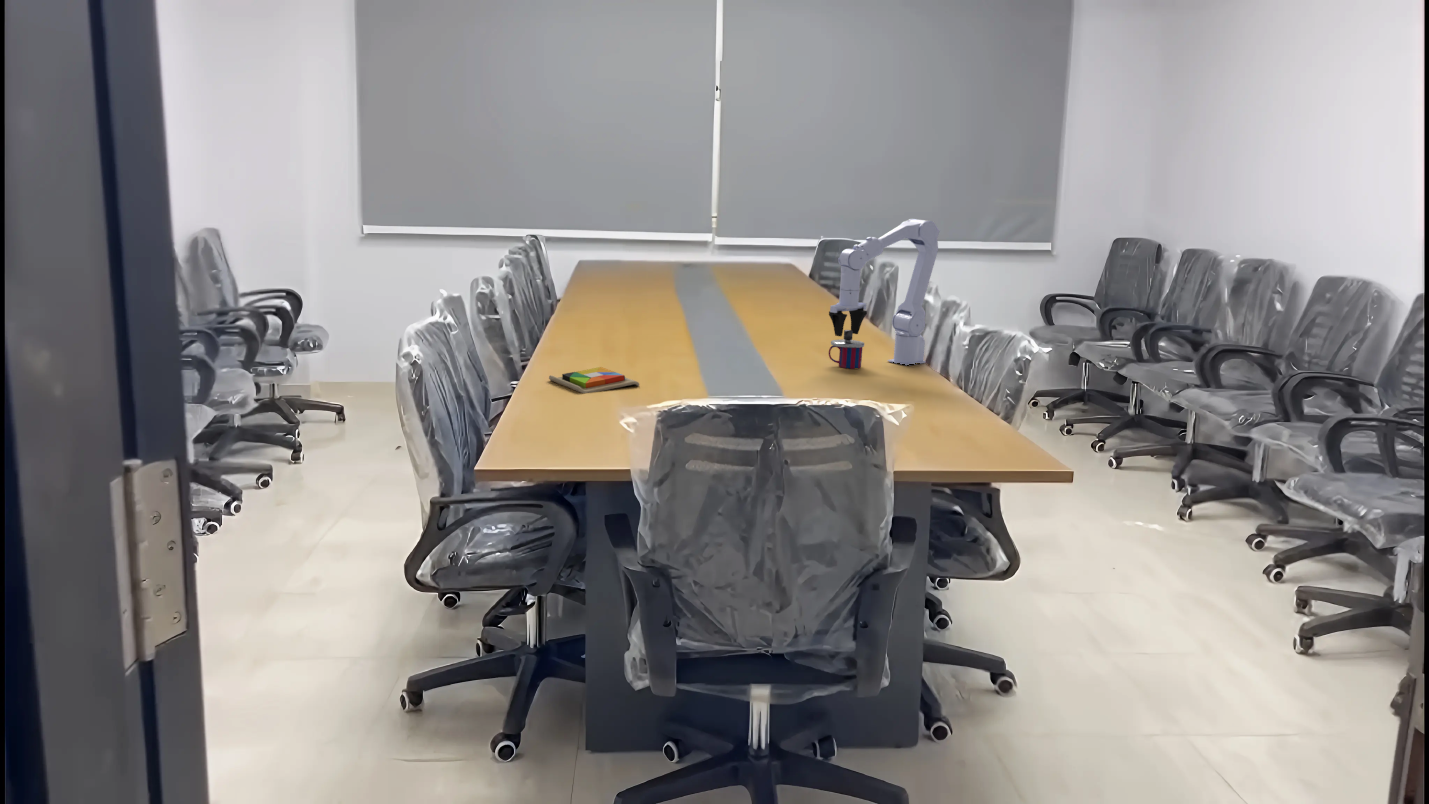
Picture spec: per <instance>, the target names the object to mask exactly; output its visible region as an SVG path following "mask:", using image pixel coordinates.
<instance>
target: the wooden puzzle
mask: <svg viewBox="0 0 1429 804" xmlns="http://www.w3.org/2000/svg"><path fill="white" fill-rule="evenodd" d="M548 379H549V381H550V382H554V383H555V384H558V385H561V386H564V387H566V388H569V389H571V390H573V391H576V392H577V393H581V394H589V393H590V394H591V393H596V392H597V393H598V392H604V391H608V390H613V389H619V388H624V387H627V386H635V387H640V382H639V381H636V380H633V379H631V378H628V377H626V376H625V375H624V374H622V373H619V372H616V371H615V370H614V371H613V370H611V369H608V368H605V367H602V366H599V367H593V368H588V369H587V368H586V369H583V370H578V371H572V372H566V373H562V374H561V376H559V377H557V376H555V375H549V376H548Z"/></svg>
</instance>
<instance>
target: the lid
mask: <svg viewBox="0 0 1429 804" xmlns="http://www.w3.org/2000/svg"><path fill="white" fill-rule="evenodd" d="M853 336H854V335H853V331H852V330H851V329H843V339H833V340H831V341H830V345H831V346H837V347H845V348H860V347H862V348H863V347H865V342H864V341H860V340H855V339H854V340H853ZM837 347H836V348H837Z"/></svg>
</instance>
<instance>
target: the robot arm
mask: <svg viewBox="0 0 1429 804" xmlns="http://www.w3.org/2000/svg"><path fill="white" fill-rule="evenodd" d="M939 235H940V229H939V228H938V226H937V224H936V222H935V221H933V220H929V219H928V220H924V219H918V218H909V219H907V220H904V221H902V222H901V223H900V224H899V225H897V226H896V227H894V228H893V229H891V230H890V231H888V232H886V233H885V234H883V235H882V236H880V237H876V236H868V237H866V238H865V240H864V241H862V242H860V243H859V244H854V245H853V247H852V248H845V249H843V250H842V251H841V252H840V255H839V257H838V258H837V260H838V261H837V262H838V265H839V266H840V283H839V285H840V286H839V299H838V300H839V301H838V302H837V303H836V304H833V305H830V308H829V311H828V315H829V317H830V320H831V322H832V325H833V326H832V327H833V331H834V335H835V336H836V337H842V336H843V334H844V326H845V322H846V318H847V316H848V314H849V317H850V330H852V331H853V334H854V335H859V331H860V328H861V326H862V324H863V320H864V319H865V318H866V316H867V314H868V310H867V302H859V300H860V286H861V285H860V284H861V275H862V274H861V273H862V272H861V270H863V268H864V267H865V265H866V263H868V262H869V261H871V260H873V259H875V258H877V257H878V256H880V255H882V254H883V252H884V249H885V248H887V247H890V246H892V245H894V244H895V243H898V242H901V241H903V240H904V239H907V240H909V241H910V242H911V243H912V244H913V245H914V246H915V249H916V250H917V251H918V254H917V257H916V261H915V264H914V267H913V271H912V274H911V278H910V281H909V285H908V288H907V293H906V296H905V300H904V301H903V302H902V303H900V305H898V307H897V310H896V312H895V313H894V314H893V315H892V318H891V325H892V328H893V329H894V334H895V335H894V336H895V337H894V338H895V339H894V348H893V349H894V350H893V351H894V352H893V358H892V359H887V362H888V361H889V362H890V363H893V362H894V363H893V364H897V363H900V364H899V365H902V364H905V365H904V366H907V365H909V364H914V365H916V364H915V363H920V364H925V363H926V360H924V357H925V346H926V341H925V339H924V337H923V335H922V332H924V330H925V327H926V319H925V318H926V315H927V314H926V311H925V309H924V307H923V305H924V301H925V297H926V294H927V290H928V287H929V283H930V280H931V278H932V277H931V276H932V273H933V269H934V267H935V262H936V259H937V257H938V256H937V254H938V251H939V243H938V238H939ZM843 312H849V313H848V314H846V313H843ZM835 336H834V337H835ZM909 366H910V365H909Z"/></svg>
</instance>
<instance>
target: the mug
mask: <svg viewBox="0 0 1429 804" xmlns="http://www.w3.org/2000/svg"><path fill="white" fill-rule="evenodd" d="M833 348H836V349H838V350H839V357H838V360H836V359H834V358H832V355H831V351H832V349H833ZM862 356H863V347H860V348H845V347H837V346H833V345H831V346H830V347H829V350H828V358H829V359H830V360H831V361H832V362H834V363H836V364H838V366H839V367H840V368H842V369H847V368H849V369H848V370H855V369H854V368H858V369H861V368H860V367H862V361H863V360H862V358H863V357H862Z"/></svg>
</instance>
